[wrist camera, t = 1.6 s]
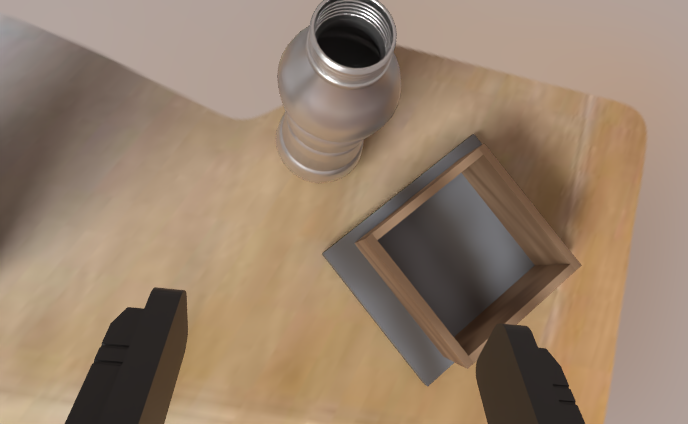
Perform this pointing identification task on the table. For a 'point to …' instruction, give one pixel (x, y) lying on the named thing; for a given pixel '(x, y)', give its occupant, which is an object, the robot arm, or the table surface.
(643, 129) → the table surface
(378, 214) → the bottle holder
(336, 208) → the table surface
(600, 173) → the table surface
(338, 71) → the metal bottle
